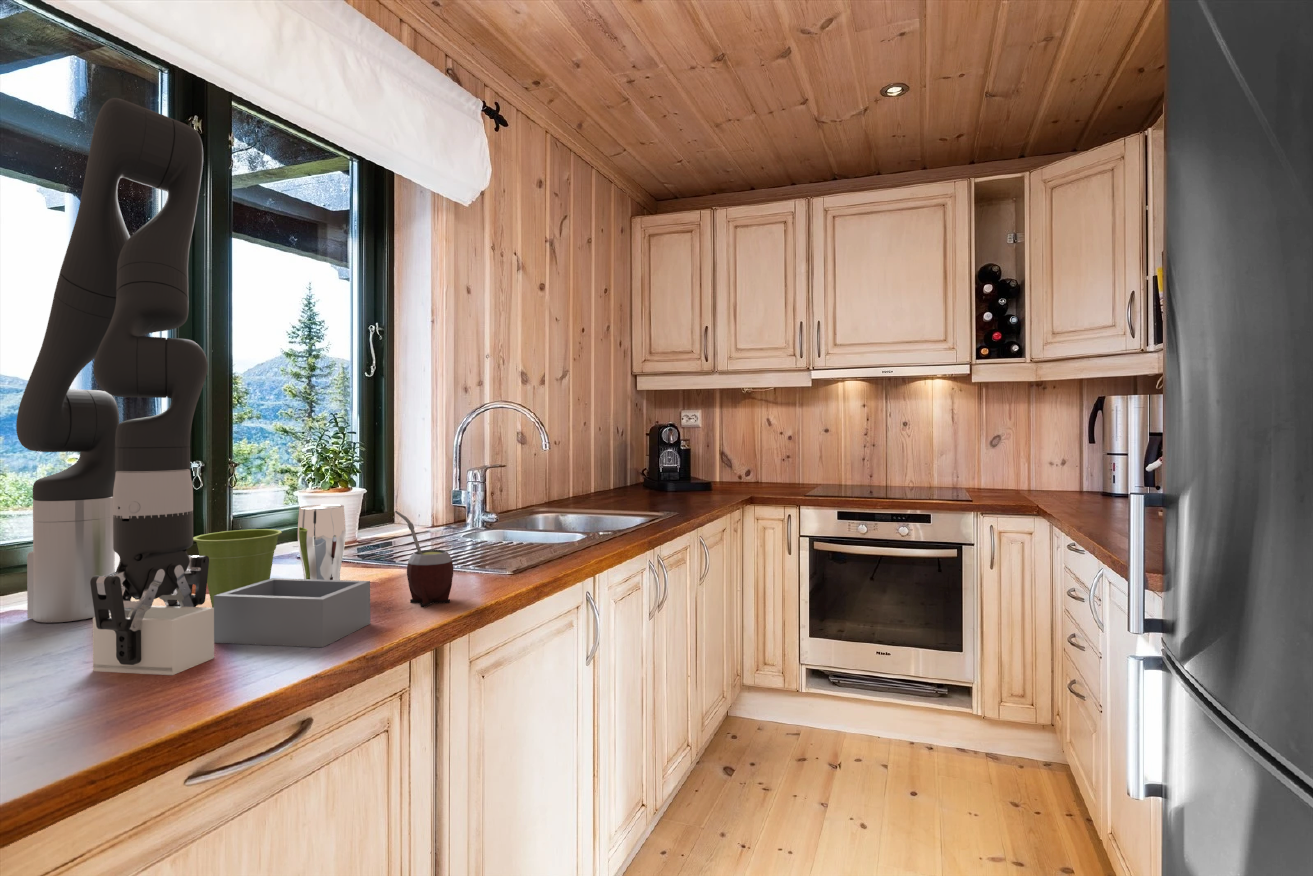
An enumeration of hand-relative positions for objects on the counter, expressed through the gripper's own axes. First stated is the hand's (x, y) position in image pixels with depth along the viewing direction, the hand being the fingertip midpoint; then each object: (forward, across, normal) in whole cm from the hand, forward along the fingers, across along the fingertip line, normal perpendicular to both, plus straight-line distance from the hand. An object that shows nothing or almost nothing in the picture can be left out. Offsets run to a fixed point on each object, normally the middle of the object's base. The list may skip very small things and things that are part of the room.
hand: (155, 653), depth 81 cm
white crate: (+1, 0, 0) cm, 1 cm away
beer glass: (+1, -32, 0) cm, 32 cm away
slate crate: (+1, -14, +8) cm, 16 cm away
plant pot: (+1, -26, -10) cm, 28 cm away
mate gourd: (+1, -32, +18) cm, 37 cm away
